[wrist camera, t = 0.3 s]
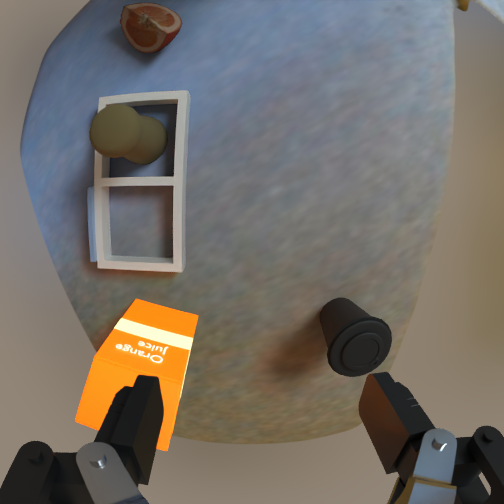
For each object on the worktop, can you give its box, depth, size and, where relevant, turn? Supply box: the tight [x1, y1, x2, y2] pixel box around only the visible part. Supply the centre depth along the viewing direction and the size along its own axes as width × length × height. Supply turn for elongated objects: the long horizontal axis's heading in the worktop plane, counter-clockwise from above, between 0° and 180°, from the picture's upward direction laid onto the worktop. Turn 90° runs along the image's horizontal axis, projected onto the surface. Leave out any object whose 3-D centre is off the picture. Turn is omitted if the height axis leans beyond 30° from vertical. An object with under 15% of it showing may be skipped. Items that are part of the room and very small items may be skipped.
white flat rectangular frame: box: [87, 90, 191, 272], centre depth 33 cm, size 21×12×3 cm, turn 177°
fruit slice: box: [120, 3, 182, 53], centre depth 27 cm, size 8×7×5 cm
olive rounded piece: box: [90, 104, 168, 165], centre depth 28 cm, size 6×6×11 cm
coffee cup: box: [320, 298, 392, 377], centre depth 36 cm, size 8×8×10 cm
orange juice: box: [75, 299, 198, 451], centre depth 30 cm, size 8×9×20 cm
